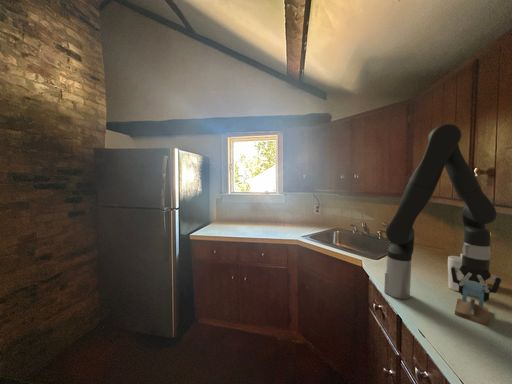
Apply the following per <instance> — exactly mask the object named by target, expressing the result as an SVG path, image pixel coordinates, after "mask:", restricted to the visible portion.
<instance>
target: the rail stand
mask: <svg viewBox="0 0 512 384" xmlns="http://www.w3.org/2000/svg"><path fill="white" fill-rule="evenodd" d="M475 301H476V299H475V298H474V297H470V301H467V300H466V302H463V301H462V298H457V300H456V304H455V305H456V306H455V309H454V315H456V316H459V317H461V318H464V319H467V320H471V321H474V322H477V323H479V324H482V325H485V326H489V324H490V323H489V322H490V321H489V318H490V317H489V316H490V314H489V313H490V311H489V307H488V306H485V305H483V307H480V306H479V303H476V302H475Z"/></svg>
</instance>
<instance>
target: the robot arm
mask: <svg viewBox="0 0 512 384" xmlns="http://www.w3.org/2000/svg"><path fill="white" fill-rule="evenodd" d="M461 139H462V130H461V129H460V128H459V127H458V125H455V124H451V123H446V124H445V123H444V124H441V125H438V126H437V127H434V128H433V129H432V130H431V131H430V132H429V134H428V137H427V142H428V143H427V146H426V149H425V152H424V155H423V157H422V160H420V162H419V164H418V165H417V167H416V168H415V170H414V171H413V173H412V174H411V176H410V178H409V180H408V182H407V184H406V187H405V189H404V192H403V194H402V197H401V199H400V201H399V204H398V208H397V211H396V212H395V214H394V216H393V217H392V219H391V221H390V223H389V224H388V226H387V227H386V229H385V237H386V238H387V240H388V241H389V246H388V248H387V251H386V252H387V253H386V271H385V272H384V289H383V290H384V291H383V293H386V294H388V295H389V296H390V297H392V298H395V299H397V300H398V299H399V300H407V299H410V297H411V282H412V280H411V278H412V261H413V260H412V256H413V253H414V245H415V230H414V227H413V226H414V224H415V221H416V219H417V218H418V216H419V215H420V213H421V212H422V211H423V210H424V208H425V207H426V206H427V205H428V203H429V201H430V200H431V198H432V196H433V194H434V192H435V190H436V188H437V186H438V183H439V181H440V178H441V177H442V173H443V171H444V168H445V170H446V172H447V175H448V177H449V180H450V182H451V185H452V188H453V189H454V191H455V193H456V195H457V197H458V198H459V199H460V200H462V201H463V202H464V203H465V205H464V207H463V208H462V211H461V218H462V225H463V228H464V236H463V237H464V238H463V245H462V250H461V254H462V266H461V267H460V268H458V267H454V266H452V267H451V273H452V278H453V282H454V283H457V284H458V285H459V291H458V293H459V294H460V295H461V296H462V295H463V286H464V283H465V282H466V281H467V280H470V281H475V282H478V283H481V285H482V287H483V288H484V303H485V302H487V301H489V300H490V293H494V294H496V293H498V290H499V288H500V285H501V282H502V277H501V276H500V275H493V274H491V272H490V265H491V257H492V256H491V240H492V239H491V232H490V231H489V230H488V229H487V228H486V225H488V224H491V223H493V222H495V221H496V219H497V216H498V215H497V210H496V208H495V206H494V204H493V203H492V201H491V200H490V199H489V197H487V195H486V194H485V193H484V191H483V189H482V188H481V185H480V183H479V181H478V179H477V177H476V175H475V173H474V172H473V170H472V169H471V167H470V165H468V163H467V161H466V160H465V158H464V155H462V151H461V149H460V146H459V143H460V141H461ZM458 271H461V272H462V274H463V275H464V276H463V278H462V279H461V280H458V279H457V274H456V273H458ZM490 278H491V280H492V282H493V284H492V287H489V285H488V283H487V280H488V279H490Z"/></svg>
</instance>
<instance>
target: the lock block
mask: <svg viewBox="0 0 512 384" xmlns="http://www.w3.org/2000/svg"><path fill="white" fill-rule="evenodd" d="M468 295H470V296H474V297H477V298H479V300H478V305H479V306H480V307H483V306H484V303H485V301H484V288H483V287H482V285H481V284H480V283H476V282H472V281H468V280H467V281H466V282H465V283H464V286H463V295H461V296H462V297H461V299H462V301H463V302H466V301H467V300H468Z"/></svg>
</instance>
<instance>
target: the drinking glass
mask: <svg viewBox="0 0 512 384" xmlns="http://www.w3.org/2000/svg"><path fill="white" fill-rule="evenodd" d="M452 266H454V267H458V268H460V267H461V266H462V257H460V256H458V255H448V256H447V279H448V284H447V287H448V288H449V289H450V290H452V291H454V292H459V285H458V284H457V283H454V282H453V278H452V273H451V267H452ZM456 274H457V279H458V280H461V279H462V278H463V276H464V275H463V274H462V272H461V271H458V273H456Z"/></svg>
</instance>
